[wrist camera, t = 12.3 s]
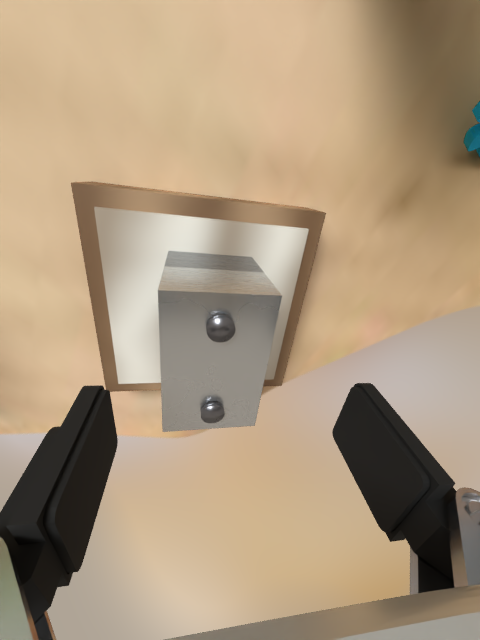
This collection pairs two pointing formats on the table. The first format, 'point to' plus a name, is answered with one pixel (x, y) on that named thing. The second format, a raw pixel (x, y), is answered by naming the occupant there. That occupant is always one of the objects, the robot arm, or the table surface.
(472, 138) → the gear
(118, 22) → the table surface
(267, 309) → the block
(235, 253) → the stand
